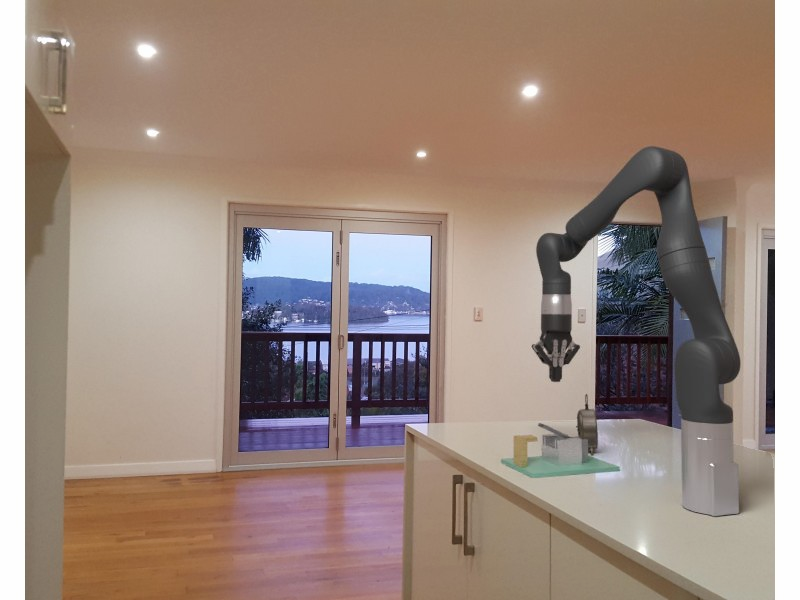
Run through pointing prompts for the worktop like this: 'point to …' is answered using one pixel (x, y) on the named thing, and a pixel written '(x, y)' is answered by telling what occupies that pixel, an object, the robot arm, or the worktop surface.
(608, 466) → the pcb board
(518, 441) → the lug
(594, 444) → the alarm clock
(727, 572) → the worktop surface
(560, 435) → the strap
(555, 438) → the heat sink
